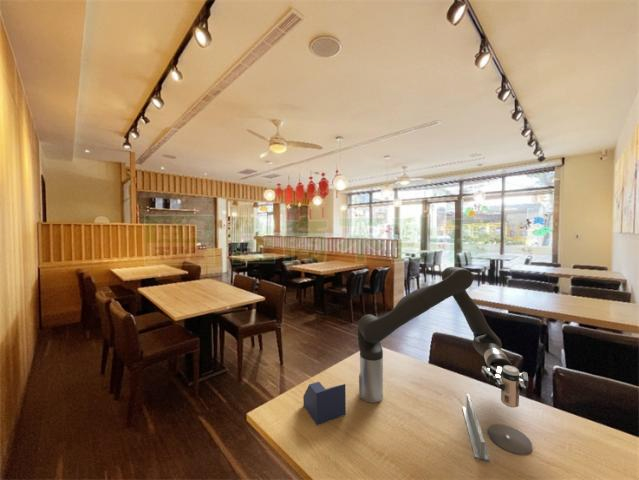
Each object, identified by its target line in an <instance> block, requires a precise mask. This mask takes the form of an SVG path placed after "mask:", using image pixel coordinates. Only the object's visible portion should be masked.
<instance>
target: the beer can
mask: <svg viewBox="0 0 639 480" xmlns="http://www.w3.org/2000/svg"><path fill="white" fill-rule="evenodd" d="M520 373H521V372H520V371H519V369H518V368H517V367H515V366H514V365H512V366H510V365H505V366H504V367H503V368H502V381H503V383H504V385H505V390H504V391H502V390H501V389H500V401H501V403H503V405H505V406H506V407H509V408H518V407H519V406H520V390H519V384H520V379H521V378H520Z"/></svg>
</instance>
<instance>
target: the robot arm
mask: <svg viewBox="0 0 639 480" xmlns="http://www.w3.org/2000/svg"><path fill="white" fill-rule="evenodd" d="M473 282H474V275H473V273H472V272H471V271H470V270H468V269H467V268H464V267H459V266H448V267H446V268H445V269H443V271H442V272H441V280H440V281H438V282H437V283H433V284H430V285H426V286H424V287H420V288H417V289H414V290H413V291H411V292H409V293H407V294H406V295H404V296H403V297H402V298H401V299H400V300H399V301H398V302H397V303H396V305H395V307H393V308H392V309H391V310H390V311H389V312H388V313H387V314H384V315H382V316H380V317H379V318H378V317H377V316H375V315H373V314H371V313H370V314H369V313H368V314H364V315H362V316H361V318H360V319H359V321H358V324H357V341H358V344H357V345H358V349H359V374H358V397H359V398H358V399H362V400H363V401H365V402H367V403H371V404H374V403H375V404H376V403H379V402H381V401H382V400H383V398H384V351H383V348H382V344H381V341H383V340H384V339H386V338H387V337H389V336H390V335H391V334H392V333H393V332H395V331H397V330H398V329H399V328H400V327H402V326H404V325H405V324H407V323H409V322H410V321H412V320H414V319H415V318H417V317H419V316H421V315H422V314H424V313H425V312H428V311H429V310H430V309H433V308H434V307H435V306H437V305H439V304H440V303H442V302H443V301H446V300H447V299H448V298H451V297H452V298H453V299H454V301H455V302H456V304H457V306H458V307H459V309H460V311H461V312H462V314H463V316H464V318H465V321H466V323H467V325H468V327H469V328H470V330H471V333H473V334H476V335H479V336H476V337H474V338H473V340H472V346H473V348H474V349H475V351H476V352H477V353H478V354H479V355H480V356H482V357H483V359H484V361H485V364H486V365H487V367H486V366H484V365H483V366H481V374H482V375H483V376H484V378H485V379H486V380H487V381H488V382H489V383H495V385H496V386H497V387H498V388H499V389H500V391H501V390H502V391H504V390H505V385H504V383H503V381H502V368H503V367H504V366H505V365H510V366H513V365H512V364H513V363H512V362H511V361H510V360H509V358H508V356H507V355H506V354H505V353H504V351H503V350H502V346H503V345H502V341H501V339H500V338H499V336H497V335H496V333H495V332H494V331H493V330H492V329H491V327H490V326H489V324H488V322H487V320H486V318H485V316H484V314H483V312H482V311H481V308H479V306H478V305H477V304H476V302H475V301H474V300H473V299H472V298H471V297H470V295H469V294H468V292H467V289H469V288H471V286H472V285H473ZM527 389H529V376H528V372H526V371H522V372H520V384H519V393H520V394H523V395H525V393H526V392H527Z"/></svg>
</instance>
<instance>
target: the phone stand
mask: <svg viewBox="0 0 639 480" xmlns="http://www.w3.org/2000/svg"><path fill="white" fill-rule="evenodd" d="M346 394H347V393H346V384H345V383H343V384H338V385H335V386H331V387H327V388H325V386H323V384H321V382H320V381H316V382H313V383H310V384H308V386H307V389H306V390H305V392H304V394H303V401H302V402H303V407H304V408H306V409H305V410H306V411H308V412H307V413H308V415H309V414H310V415H309V416H310V418H311V417H312V418H311V419H312V420H314V421H313V422H314V423H315V425H316V426H319V425H320V426H321V425H322V424H325V423H327V422H331V421H333V420H335V419H338V418H341V417H343V416H345V415H347V413H346V412H347V411H346V408H347V407H346V401H347V399H346V398H347V397H346V396H347V395H346Z"/></svg>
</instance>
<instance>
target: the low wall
mask: <svg viewBox="0 0 639 480" xmlns="http://www.w3.org/2000/svg"><path fill="white" fill-rule="evenodd" d="M465 405H466V406H464V405H462V406H461V409H462V410H461V411H462V413H463V418H464V422H465V425H466V429H467V433H468V437H469V441H470V444H471V448H472V453H473V456H474V460H477V461H481V462H485V463H489V464H491V458H490V454H489V452H488V449H487V446H486V442H485V438H484V435H483V431H482V429H481V428H482V427H481V425H480V422H479V419H478V416H477V413H476V409H475V406H474V403H473V400H472V397H471V395H470V393H466V404H465Z"/></svg>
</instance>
